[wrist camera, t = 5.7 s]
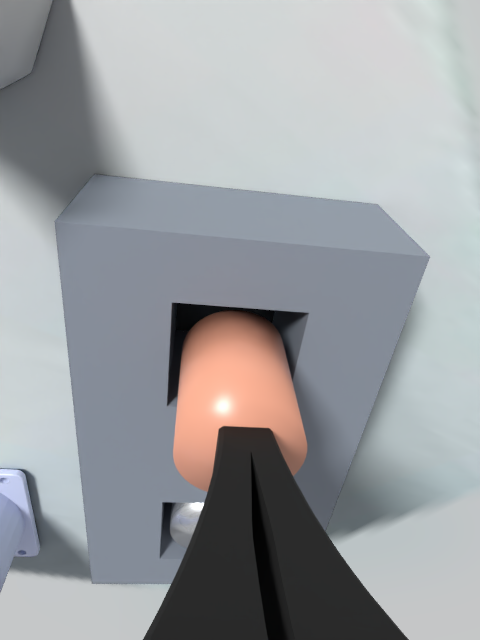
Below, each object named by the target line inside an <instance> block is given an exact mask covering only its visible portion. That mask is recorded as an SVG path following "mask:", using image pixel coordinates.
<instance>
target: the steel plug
mask: <svg viewBox="0 0 480 640" xmlns="http://www.w3.org/2000/svg"><path fill="white" fill-rule="evenodd" d="M203 505H204V503H177V502H172V509H171V521H170V534H171V536H172V538H173V539H174V540H175V541H176V542H177V543H178V544H179V545H181V546H183V547H185V548H188V545H189V543H190V540H191V538H192V535H193V533H194V530H195V527H196V525H197V522H198V519H199V516H200V513H201V510H202V508H203Z"/></svg>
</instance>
